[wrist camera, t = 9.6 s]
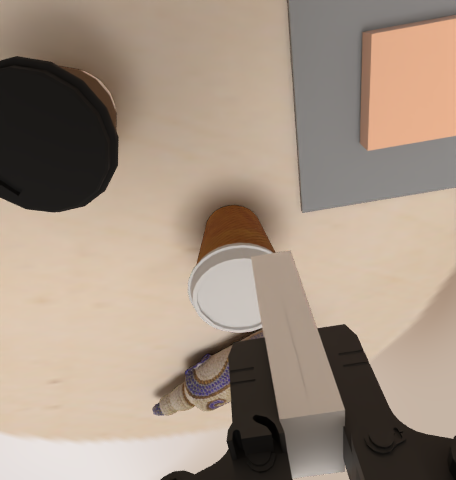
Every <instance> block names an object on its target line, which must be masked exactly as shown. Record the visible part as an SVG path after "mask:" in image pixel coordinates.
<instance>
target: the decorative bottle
mask: <svg viewBox="0 0 456 480" xmlns="http://www.w3.org/2000/svg"><path fill="white" fill-rule="evenodd" d="M258 338H264V335H263V329H261V330H259V331H258V332H256V333H253V334H252V335H250V336H249V337H246V338H245V339H242V340H240V341H245V340H251V339H258ZM231 348H232V345H231V346H229V347H228V348H226V349H223V350H222V351H220V352H218V353H216V354H214V355H210V354H206V355H205V356H204V357H203V358H202V360H201V361H200V362H198V363H196V364H195V365H193V366H192V367H190V368H189V369H187V371H186V372H185V378H184V382H183V383H182V384H180V385H179V386H177V387H176V388H175V389H174V390H173V391H172V392H171V393H170V394H167V395H165V396H164V397H162V398H161V399H160V402H159V403H158V404H156V405H155V406H154V407H153V413H154V414H155V415H158V416H159V415H167V416H168V415H172V414H173V413H176V412H177V411H185V410H189V409H191V408H193V407H194V406H196V407H197V408H199V409H200V410H202V411H211V410H214V409H216V408H218V407H220V406H223V405H224V404H227V403H229V402H230V401H231V392H230V377H229V361H228V355H229V353H230V350H231ZM206 356H208V358H206Z"/></svg>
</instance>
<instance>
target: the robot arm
mask: <svg viewBox="0 0 456 480" xmlns="http://www.w3.org/2000/svg"><path fill="white" fill-rule="evenodd" d="M251 261H252V268H253V274H254V280H255V287H256V293H257V299H258V306H259V312H260V318H261V323H262V329H263V335H264V338H258V339H251V340H245V341H238V342H234V343H233V345H232V348H231V350H230V353H229V355H228V361H229V377H230V392H231V407H232V424H231V426H230V428H229V429H228V435H227V444H228V448H229V449H228V451H227V452H226V454H225V455H224V456H223V457H222V458H221V459H220V460H219V461H218V462H216V463H215V464H213V465H212V466H210V467H208V468H206V469H204V470H202V471H200V472H198V473H197V474H192V473H190V472H187V471H175V472H172V473H170V474H168V475H167V476H164V477H163V478H162V479H161V480H293V479H294V478H302V477H309V476H316V475H324V474H331V473H338V472H344V471H345V466H346V469H347V472H348V476H349V479H350V480H456V436H455V437H454V439H451V438H445V437H439V436H433V435H428V434H424V433H420V432H417V431H415V430H413V429H410V428H409V427H407V426H406V425H404V424H403V423H402V422H400V421H399V420H398V419H397V418H396V416H395V415H394V414H393V413H392V411H391V409H390V408H389V405H388V403H387V401H386V399H385V397H384V394H383V392H382V390H381V388H380V386H379V383H378V381H377V379H376V377H375V374H374V372H373V370H372V368H371V366H370V364H369V361H368V359H367V357H366V355H365V352H364V351H363V348H362V346H361V343H360V341H359V339H358V337H357V335H356V334H355V333H354V332H353V331H351V330H350V329H349V328H348V327H347V326H346V325H345V324H343V325H337V326H330V327H323V328H317V326H316V323H315V320H314V318H313V315H312V312H311V309H310V306H309V303H308V300H307V297H306V294H305V291H304V288H303V285H302V282H301V279H300V276H299V274H298V271H297V268H296V265H295V262H294V259H293V256H292V253H291V250H290V251H284V252H277V253H271V254H265V255H259V256H253V257H251Z"/></svg>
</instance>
